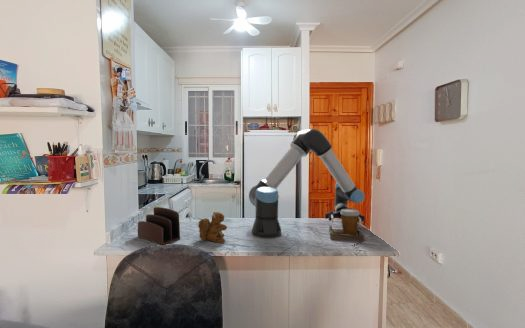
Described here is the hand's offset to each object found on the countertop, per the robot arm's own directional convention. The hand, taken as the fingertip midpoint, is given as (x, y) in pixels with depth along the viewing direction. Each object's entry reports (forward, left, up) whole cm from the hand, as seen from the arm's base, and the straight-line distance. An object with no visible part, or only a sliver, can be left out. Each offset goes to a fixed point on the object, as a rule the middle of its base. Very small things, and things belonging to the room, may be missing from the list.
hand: (346, 221), depth 133 cm
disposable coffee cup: (+4, +2, -8) cm, 9 cm away
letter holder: (-89, +25, -9) cm, 93 cm away
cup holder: (+2, +3, -8) cm, 9 cm away
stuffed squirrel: (-64, +16, -8) cm, 67 cm away
